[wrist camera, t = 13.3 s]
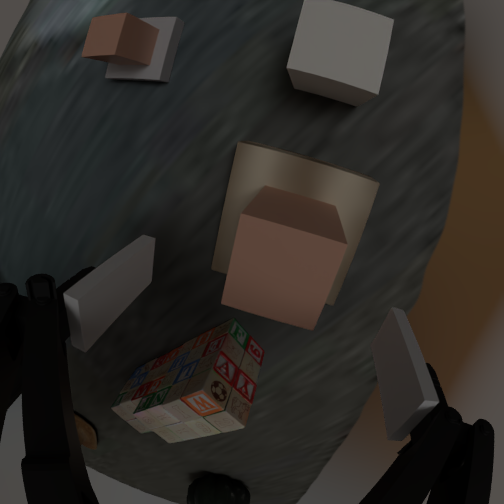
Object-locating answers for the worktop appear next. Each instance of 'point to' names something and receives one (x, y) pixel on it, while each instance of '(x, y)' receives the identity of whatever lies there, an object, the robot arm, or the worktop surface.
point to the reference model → (134, 46)
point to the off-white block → (339, 51)
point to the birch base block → (299, 182)
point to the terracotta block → (285, 257)
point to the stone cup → (85, 433)
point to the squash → (217, 491)
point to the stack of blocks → (195, 386)
